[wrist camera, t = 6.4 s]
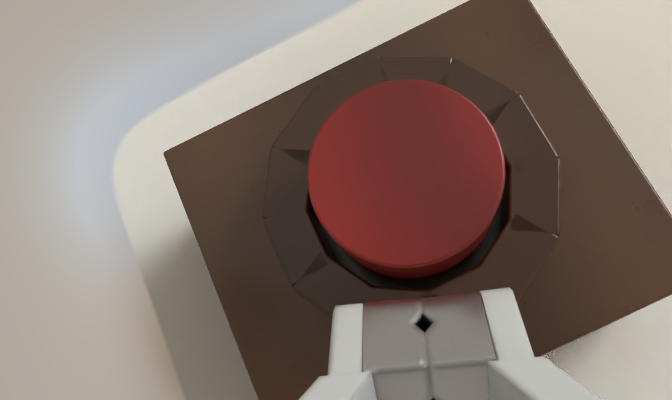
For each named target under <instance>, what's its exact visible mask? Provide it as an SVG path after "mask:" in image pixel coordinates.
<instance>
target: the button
mask: <svg viewBox="0 0 672 400" xmlns="http://www.w3.org/2000/svg"><path fill="white" fill-rule="evenodd" d="M505 175H506V174H505V159H504V154H503V149H502V146H501V143H500V140H499V137H498V135H497V133H496V131H495V129H494V127H493V126H492V124H491V123H490V121H489V120H488V118H487V117H486V116H485V114H484V113H483V112H482V111H481V110H480V109H479V108H478V107H477V106H476V105H475V104H474V103H472V102H471V101H470V100H469V99H468V98H466V97H465V96H463V95H461V94H460V93H458V92H456V91H454V90H452V89H450V88H448V87H446V86H443V85H440V84H437V83H434V82H429V81H424V80H413V79H404V80H393V81H387V82H383V83H379V84H376V85H373V86H370V87H368V88H366V89H363V90H361V91H359V92H358V93H356V94H354V95H352V96H351V97H350V98H348V99H347V100H345V101H344V102H343V103H341V104H340V105H339V106H338V107H337V108H336V109H335V110H334V111H333V112H332V113H331V115H330V116H329V117H328V118H327V119H326V121H325V122H324V124H323V125H322V127H321V128H320V130H319V131H318V134H317V136H316V138H315V140H314V142H313V145H312V148H311V151H310V155H309V161H308V167H307V183H308V191H309V196H310V200H311V203H312V206H313V209H314V211H315V214H316V216H317V217H318V219H319V221H320V223H321V225H322V226H323V227H324V229H325V230H326V231H327V233H328V234H329V235H330V236H331V237H332V239H333V240H334V241H335V242H336V243H337V244H338V245H339V247H340V248H341V249H342V250H343V251H344V252H345V253H346V254H347V255H348V256H349V257H350V258H351V259H353V260H354V261H355V262H357V263H358V264H359V265H361V266H363V267H365V268H366V269H368V270H370V271H373V272H375V273H377V274H380V275H384V276H388V277H393V278H400V279H416V278H425V277H429V276H433V275H437V274H439V273H442V272H444V271H447V270H449V269H450V268H452V267H454V266H456V265H457V264H459V263H460V262H462V261H463V260H464V259H466V258H467V257H468V256H469V255H470V254H471V253H472V252H473V251H474V250H475V249H476V248H477V247H478V245H479V244H480V243H481V241H482V240H483V238H484V237H485V235H486V233H487V231H488V230H489V227H490V225H491V223H492V221H493V218H494V216H495V214H496V212H497V209H498V207H499V204H500V202H501V199H502V195H503V190H504V185H505Z"/></svg>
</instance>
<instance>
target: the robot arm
mask: <svg viewBox="0 0 672 400" xmlns="http://www.w3.org/2000/svg"><path fill="white" fill-rule="evenodd" d="M299 400H603V399H601V398H600V397H599V396H597V395H596V394H595V393H593V392H592V391H590V390H589V389H588V388H586V387H585V386H584V385H582V384H581V383H579V382H578V381H577V380H575V379H574V378H573V377H571V376H570V375H569V374H567V373H566V372H564V371H563V370H562V369H560V368H559V367H558V366H556V365H555V364H554V363H552V362H551V361H549V360H548V359H547V358H545V357H534V354H533V351H532V348H531V345H530V342H529V339H528V336H527V333H526V330H525V327H524V324H523V321H522V318H521V315H520V311H519V308H518V305H517V302H516V299H515V296H514V293H513V291H512V290H511V289H510V288H509V287H507V288H500V289H492V290H484V291H480V292H473V293H464V294H454V295H445V296H436V297H427V298H415V299H403V300H391V301H378V302H366V303H364V304H363V303H359V304H347V305H336V306H335V308H334V310H333V316H332V328H331V340H330V352H329V363H328V375H327V376H319V377H318V378H317V379H316V380H315V381H314V383H313V384H312V385H311V386H310V387H309V388H308V389H307V391H306V392H305V393H304V394H303V395H302V396H301V397H300V399H299Z"/></svg>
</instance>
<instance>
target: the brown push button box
mask: <svg viewBox="0 0 672 400" xmlns="http://www.w3.org/2000/svg"><path fill="white" fill-rule="evenodd" d="M404 79H413V80H424V81H429V82H434V83H437V84H440V85H443V86H446V87H448V88H450V89H452V90H454V91H456V92H458V93H460V94H461V95H463V96H465V97H466V98H468V99H469V100H470V101H471V102H472V103H474V104H475V105H476V106H477V107H478V108H479V109H480V110H481V111H482V112H483V113H484V114H485V116H486V117H487V118H488V120H489V121H490V123H491V124H492V126H493V127H494V129H495V131H496V133H497V135H498V137H499V140H500V143H501V146H502V149H503V154H504V159H505V174H506V175H505V185H504V190H503V195H502V199H501V202H500V204H499V207H498V209H497V212H496V214H495V216H494V218H493V221H492V223H491V225H490V227H489V230H488V231H487V233H486V235H485V237H484V238H483V240H482V241H481V243H480V244H479V245H478V247H477V248H476V249H475V250H474V251H473V252H472V253H471V254H470V255H469V256H468V257H467V258H466V259H464V260H463V261H462V262H460V263H459V264H457V265H456V266H454V267H452V268H450V269H449V270H447V271H444V272H442V273H439V274H437V275H433V276H429V277H425V278H416V279H400V278H393V277H388V276H384V275H380V274H377V273H375V272H373V271H370V270H368V269H366V268H365V267H363V266H361V265H359V264H358V263H357V262H355V261H354V260H353V259H351V258H350V257H349V256H348V255H347V254H346V253H345V252H344V251H343V250H342V249H341V248H340V247H339V245H338V244H337V243H336V242H335V241H334V240H333V239H332V237H331V236H330V235H329V234H328V233H327V231H326V230H325V229H324V227H323V226H322V225H321V223H320V221H319V219H318V217H317V216H316V214H315V211H314V209H313V206H312V203H311V200H310V196H309V191H308V183H307V167H308V161H309V155H310V151H311V148H312V145H313V142H314V140H315V138H316V136H317V134H318V131H319V130H320V128H321V127H322V125H323V124H324V122H325V121H326V119H327V118H328V117H329V116H330V115H331V113H332V112H333V111H334V110H335V109H336V108H337V107H338V106H339V105H340V104H341V103H343V102H344V101H345V100H347V99H348V98H350V97H351V96H352V95H354V94H356V93H358V92H359V91H361V90H363V89H366V88H368V87H370V86H373V85H376V84H379V83H383V82H387V81H393V80H404ZM164 157H165V159H166V162H167V165H168V167H169V170H170V172H171V175H172V177H173V180H174V183H175V185H176V188H177V190H178V193H179V196H180V198H181V201H182V203H183V206H184V208H185V211H186V214H187V216H188V219H189V221H190V224H191V227H192V229H193V232H194V234H195V237H196V239H197V242H198V245H199V247H200V250H201V252H202V255H203V258H204V260H205V263H206V265H207V268H208V270H209V273H210V276H211V278H212V281H213V283H214V286H215V289H216V291H217V294H218V296H219V299H220V302H221V304H222V307H223V309H224V312H225V314H226V317H227V320H228V322H229V325H230V327H231V330H232V333H233V335H234V338H235V340H236V343H237V345H238V348H239V351H240V353H241V356H242V358H243V361H244V364H245V366H246V369H247V371H248V374H249V376H250V379H251V382H252V384H253V387H254V389H255V392H256V395H257V397H258V400H299V399H300V397H301V396H302V395H303V394H304V393H305V392H306V391H307V389H308V388H309V387H310V386H311V385H312V384H313V383H314V381H315V380H316V379H317V378H318V377H319V376H327V375H328V363H329V352H330V340H331V328H332V316H333V310H334V308H335V306H336V305H347V304H359V303H363V304H364V303H366V302H378V301H391V300H403V299H415V298H427V297H436V296H445V295H454V294H464V293H473V292H480V291H484V290H492V289H500V288H507V287H509V288H510V289H511V290H512V291H513V293H514V296H515V299H516V302H517V305H518V308H519V311H520V315H521V318H522V321H523V324H524V327H525V330H526V333H527V336H528V339H529V342H530V345H531V348H532V351H533V354H534V357H540V356H542V355H544V354H546V353H549V352H551V351H553V350H555V349H557V348H559V347H561V346H563V345H566V344H568V343H570V342H572V341H574V340H576V339H578V338H580V337H583V336H585V335H587V334H589V333H591V332H593V331H595V330H597V329H599V328H602V327H604V326H606V325H608V324H610V323H612V322H614V321H616V320H619V319H621V318H623V317H625V316H627V315H629V314H631V313H633V312H636V311H638V310H640V309H642V308H644V307H646V306H648V305H650V304H653V303H655V302H657V301H659V300H661V299H663V298H665V297H667V296H669V295H672V215H671V214H670V212H669V211H668V209H667V208H666V206H665V205H664V203H663V202H662V200H661V199H660V197H659V196H658V194H657V193H656V191H655V190H654V188H653V187H652V185H651V183H650V182H649V180H648V179H647V177H646V176H645V174H644V173H643V171H642V170H641V168H640V167H639V165H638V164H637V162H636V161H635V159H634V158H633V156H632V155H631V153H630V152H629V150H628V149H627V147H626V146H625V144H624V143H623V141H622V140H621V138H620V137H619V135H618V133H617V132H616V130H615V129H614V127H613V126H612V124H611V123H610V121H609V120H608V118H607V117H606V115H605V114H604V112H603V111H602V109H601V108H600V106H599V105H598V103H597V102H596V100H595V99H594V97H593V96H592V94H591V93H590V91H589V90H588V88H587V87H586V85H585V83H584V82H583V80H582V79H581V77H580V76H579V74H578V73H577V71H576V70H575V68H574V67H573V65H572V64H571V62H570V61H569V59H568V58H567V56H566V55H565V53H564V52H563V50H562V49H561V47H560V46H559V44H558V43H557V41H556V40H555V38H554V37H553V35H552V33H551V32H550V30H549V29H548V27H547V26H546V24H545V23H544V21H543V20H542V18H541V17H540V15H539V14H538V12H537V11H536V9H535V8H534V6H533V5H532V3H531V2H530V0H469V1H467V2H465V3H463V4H461V5H459V6H457V7H455V8H453V9H451V10H449V11H447V12H445V13H443V14H441V15H439V16H437V17H435V18H433V19H431V20H429V21H427V22H425V23H423V24H421V25H419V26H417V27H415V28H413V29H411V30H409V31H407V32H405V33H403V34H401V35H399V36H397V37H395V38H393V39H391V40H389V41H387V42H385V43H383V44H381V45H379V46H377V47H375V48H373V49H371V50H369V51H367V52H365V53H363V54H361V55H359V56H357V57H355V58H352V59H350V60H348V61H346V62H344V63H342V64H340V65H338V66H336V67H334V68H332V69H330V70H328V71H326V72H324V73H322V74H320V75H318V76H316V77H314V78H312V79H310V80H308V81H306V82H304V83H302V84H300V85H298V86H296V87H294V88H292V89H290V90H288V91H286V92H284V93H282V94H280V95H278V96H276V97H274V98H272V99H270V100H268V101H266V102H264V103H262V104H260V105H258V106H256V107H254V108H252V109H250V110H248V111H246V112H244V113H242V114H240V115H238V116H236V117H234V118H232V119H230V120H228V121H226V122H224V123H222V124H220V125H218V126H216V127H213V128H211V129H209V130H207V131H205V132H203V133H201V134H199V135H197V136H195V137H193V138H191V139H189V140H187V141H185V142H183V143H181V144H179V145H177V146H175V147H173V148H171V149H169V150H167V151H165V152H164Z"/></svg>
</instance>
